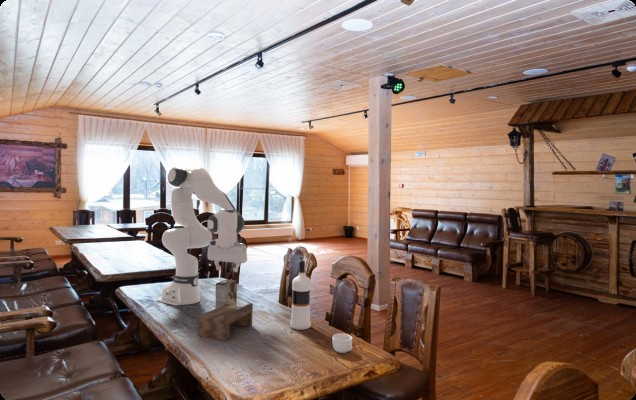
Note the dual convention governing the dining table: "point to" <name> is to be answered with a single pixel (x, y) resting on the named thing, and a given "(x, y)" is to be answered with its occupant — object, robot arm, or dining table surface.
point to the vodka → (301, 300)
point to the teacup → (342, 342)
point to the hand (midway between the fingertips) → (227, 270)
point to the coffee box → (226, 293)
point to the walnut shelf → (224, 320)
